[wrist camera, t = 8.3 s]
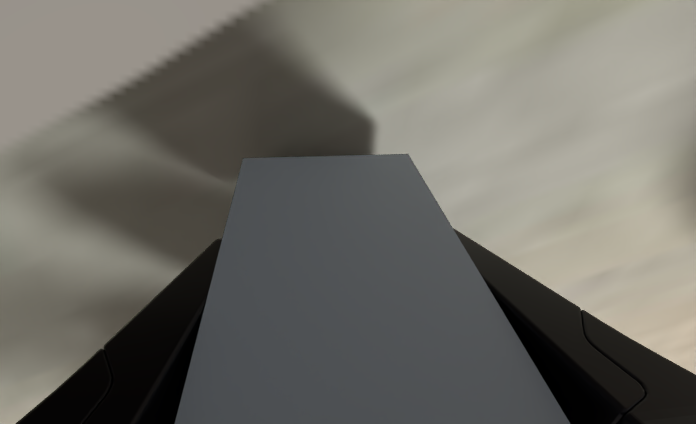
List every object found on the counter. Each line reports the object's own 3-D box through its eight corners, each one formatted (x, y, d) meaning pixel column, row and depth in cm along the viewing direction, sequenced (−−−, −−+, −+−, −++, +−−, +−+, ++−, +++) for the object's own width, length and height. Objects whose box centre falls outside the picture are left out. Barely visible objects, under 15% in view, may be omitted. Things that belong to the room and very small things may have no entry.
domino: (401, 205, 12) (531, 493, 6) (250, 211, 12) (193, 540, 5) (408, 153, 11) (574, 431, 5) (243, 157, 11) (159, 482, 4)
